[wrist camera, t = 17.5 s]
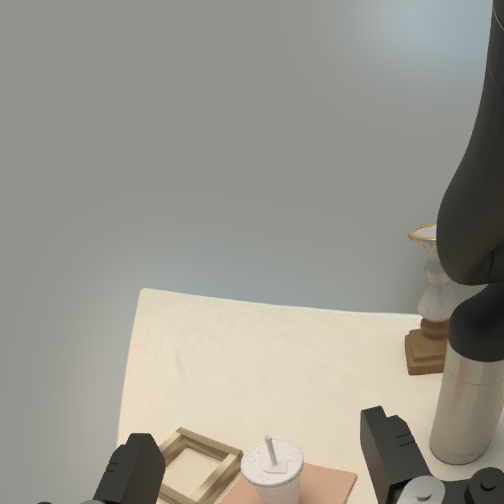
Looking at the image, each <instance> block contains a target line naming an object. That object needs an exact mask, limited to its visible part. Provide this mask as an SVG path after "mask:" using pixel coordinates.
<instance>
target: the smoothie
mask: <svg viewBox="0 0 504 504" xmlns="http://www.w3.org/2000/svg"><path fill="white" fill-rule="evenodd" d="M265 440H266V441H264V442H261V443H258V444H256V445H254V446H253V447H251V448H250V449H249V450H248V451H247V452H246V453H245V454H244V456H243V458H242V460H241V470H242V474H243V477H244V478H245V480H246V481H247V482H248V483H250V484H251V485H252V486H253V487H254V488H255V490H256V491H257V492H258V494H259V495H260V497H261V498H262V500H263V501H264V502H265V504H298V503H299V490H300V476H301V473H302V471H303V468H304V459H303V456H302V452H301V451H300V449H299V448H298V447H297V446H296V445H294V444H293V443H291V442H288V441H285V440H272V439H271V436H270V435H267V436H265Z"/></svg>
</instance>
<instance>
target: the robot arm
mask: <svg viewBox="0 0 504 504" xmlns="http://www.w3.org/2000/svg"><path fill="white" fill-rule="evenodd" d="M436 246H437V253H438V257H439V260H440V263H441V265H442V267H443V269H444V271H445V273H446V274H447V276H448V277H450V278H451V279H452V280H453V281H455V282H457V283H458V284H463V285H470V286H474V285H482V284H489V285H488V286H487V287H486V288H484V289H483V290H482V291H481V292H479V293H478V294H476V295H475V296H473V297H471V298H469V299H467V300H465V301H464V302H462V303H461V304H460V305H458V306H457V307H456V308H455V309H454V311H453V313H452V315H451V317H450V322H449V330H448V340H447V349H446V357H445V365H444V371H443V378H442V384H441V389H440V395H439V400H438V405H437V410H436V414H435V418H434V423H433V427H432V431H431V435H430V440H429V442H430V448H431V451H432V452H433V454H434V455H435V456H436V457H437V458H438V459H440V460H442V461H443V462H446V463H449V464H465V463H469V462H472V461H474V460H476V459H477V458H479V457H480V456H481V455H482V454H483V453H484V452H485V450H486V448H487V447H488V444H489V442H490V440H491V437H492V435H493V433H494V430H495V428H496V425H497V423H498V420H499V418H500V415H501V412H502V409H503V407H504V0H493V7H492V19H491V29H490V39H489V46H488V53H487V63H486V71H485V80H484V86H483V92H482V97H481V102H480V106H479V110H478V114H477V118H476V122H475V126H474V129H473V132H472V135H471V138H470V141H469V144H468V147H467V150H466V152H465V154H464V157H463V159H462V161H461V163H460V165H459V167H458V169H457V171H456V173H455V175H454V177H453V179H452V180H451V182H450V184H449V186H448V188H447V190H446V192H445V194H444V197H443V200H442V203H441V205H440V209H439V213H438V219H437V226H436ZM360 441H361V447H362V451H363V454H364V457H365V461H366V464H367V467H368V470H369V474H370V477H371V480H372V483H373V487H374V490H375V493H376V497H377V500H378V504H504V473H503V472H502V471H501V470H500V469H497V468H493V467H487V468H483V469H481V470H479V471H477V472H476V473H475V474H474V475H473V476H472V478H471V479H466V480H459V481H442V480H439V479H438V478H436V477H434V476H433V475H432V474H431V472H430V471H429V468H428V466H427V464H426V462H425V460H424V458H423V456H422V454H421V452H420V450H419V448H418V445H417V443H415V439H414V437H413V435H411V431H410V429H409V427H408V425H407V423H406V422H405V421H404V420H402V419H401V418H400V417H398V416H397V415H394V416H391V417H386V415H385V412H384V410H383V408H382V407H381V406H377V407H373V408H369V409H365V410H361V421H360ZM165 467H166V465H165V459H164V456H163V455H162V453H161V451H160V449H159V448H158V446H157V444H156V442H155V440H154V438H153V437H152V435H151V434H148V433H131V434H130V436H129V438H128V440H127V442H126V445H122V444H121V445H120V446H119V447H118V448H117V449H116V450H115V451H114V453H113V454H112V457H111V459H110V461H109V464H108V465H107V468H106V472H104V474H103V477H102V479H101V481H100V484H99V486H98V488H97V490H96V493H95V495H94V497H93V499H92V500H88V501H85V502H83V503H81V504H156V501H157V498H158V494H159V491H160V487H161V483H162V480H163V476H164V473H165ZM38 504H51V503H49V502H41V503H38Z"/></svg>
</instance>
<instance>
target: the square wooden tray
mask: <svg viewBox="0 0 504 504" xmlns="http://www.w3.org/2000/svg"><path fill="white" fill-rule="evenodd" d="M187 446H188V447H190V448H192V449H194V450H197V451H199V452H201V453H204V454H206V455H208V456H211V457H213V458H216V459H218V460H221V461H223V462H222V463H221V464H220V465H219V466H218V467H217V468H216V470H215V471H214V472H213V473H212V474H211V475H210V476H209V477H208V479H207V480H206V481H205V482H204V483H203V484H202V485H201V486H200V487H199V488H198V489H197V490H196V492H195V493H194V494H193V495H192V496H191V497H190V498H188V497H186V496H184V495H182V494H180V493H179V492H177V491H175V490H173V489H171V488H170V487H168V486H166V485H164V484H163V483H161V487H160V491H159V494H158V496H159V497H161V498H162V499H164V500H166V501H167V502H169V503H171V504H212V503H213V502H214V501H215V499H216V498H217V497H218V496H219V495H220V494H221V493H222V491H223V490H224V489H225V488H226V487H227V485H228V484H229V483H230V482H231V481H232V479H233V478H234V477H235V476H236V475H237V473H238V472H239V471H240V470H241V460H242V458H243V456H244V455H243V453H242V450H239V449H236V448H233V447H231V446H228V445H225V444H222V443H220V442H217V441H214V440H212V439H209V438H206V437H204V436H201V435H199V434H196V433H194V432H191V431H189V430H187V429H184V428H182V427H180V428H179V429H178V430H176V431H175V432H174V433H173V434H172V435H171V436H170V437H169V438H168V439H167V440H166V441H165V442H163V443H162V444H161V445H160V446H159V447H158V448H159V449H160V451H161V453H162V455H163V456H164V459H165V465H166V466H167V465H168V464H169V463H170V462H171V461H172V460H174V459H175V458H176V457H177V456H178V455H179V454H180V453H181V452H182V451H183V450H184V449H185V448H186V447H187Z"/></svg>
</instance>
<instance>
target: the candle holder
mask: <svg viewBox="0 0 504 504" xmlns="http://www.w3.org/2000/svg"><path fill="white" fill-rule="evenodd" d="M436 226H437V224H426V225H421V226H417V227H415V228H412V229H410V230H409V232H408V237H409V239H410V240H412V241H413V242H416V243H419V244H423V246H424V248H425V249H426V250H427V252H428V261H427V263H426V265H425V266H424V271H425V272H426V273H427V276H428V278H429V283H428V286H427V288H426V289H425V291H424V292H423V294H422V296H421V297H420V300H419V302H418V310H419V313H420V315H421V316H422V317H423V319H422V320H421V324H420V326H421V329H416V330H411V331H410V332H409V335H406V336H405V352H406V359H407V367H408V373H409V375H421V374H430V373H439V372H443V371H444V365H445V357H446V349H447V340H448V330H449V322H450V317H451V315H452V313H453V311H454V309H455V308H456V307H457V302H456V299H455V296H454V295H453V293H452V291H451V289H450V288H449V285H448V282H447V279H448V276H447V274H446V273H445V271H444V269H443V267H442V265H441V263H440V260H439V257H438V253H437V246H436Z"/></svg>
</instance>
